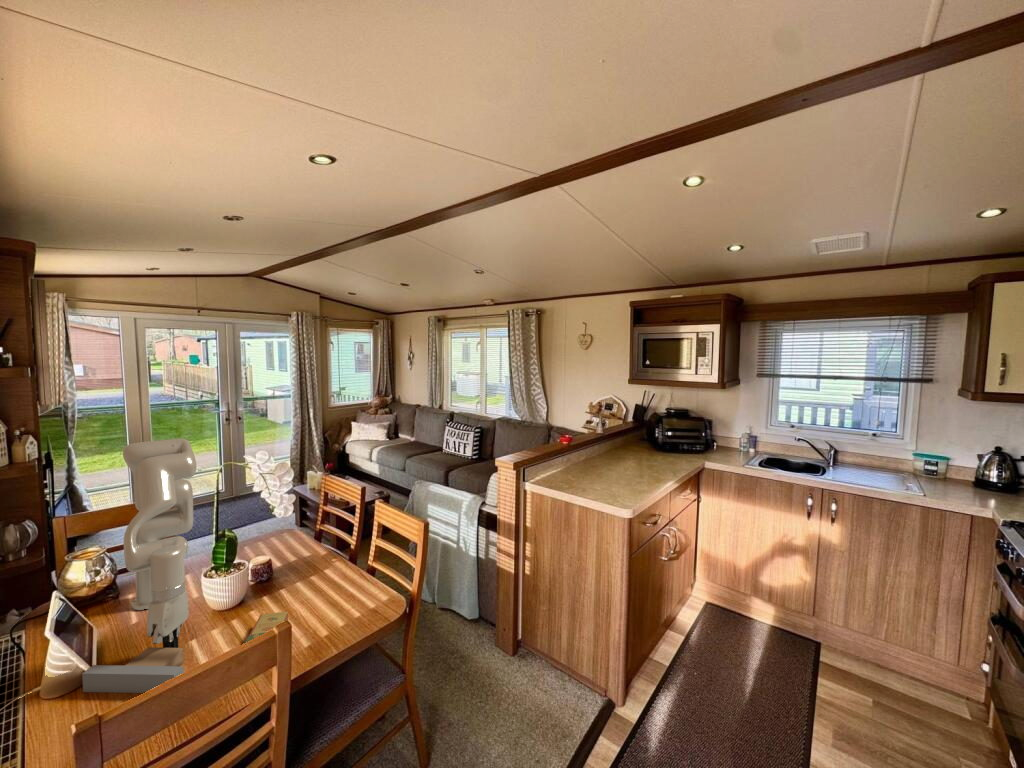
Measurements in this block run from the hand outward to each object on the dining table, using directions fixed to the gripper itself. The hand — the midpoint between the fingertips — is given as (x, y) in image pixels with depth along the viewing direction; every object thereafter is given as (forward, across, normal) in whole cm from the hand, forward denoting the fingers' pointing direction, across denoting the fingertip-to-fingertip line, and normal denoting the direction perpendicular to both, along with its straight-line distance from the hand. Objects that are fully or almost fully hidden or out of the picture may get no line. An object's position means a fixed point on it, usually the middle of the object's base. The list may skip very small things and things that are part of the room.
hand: (170, 651), depth 123 cm
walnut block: (+2, +6, 0) cm, 6 cm away
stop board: (+2, +12, 0) cm, 12 cm away
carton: (+2, -8, +23) cm, 24 cm away
